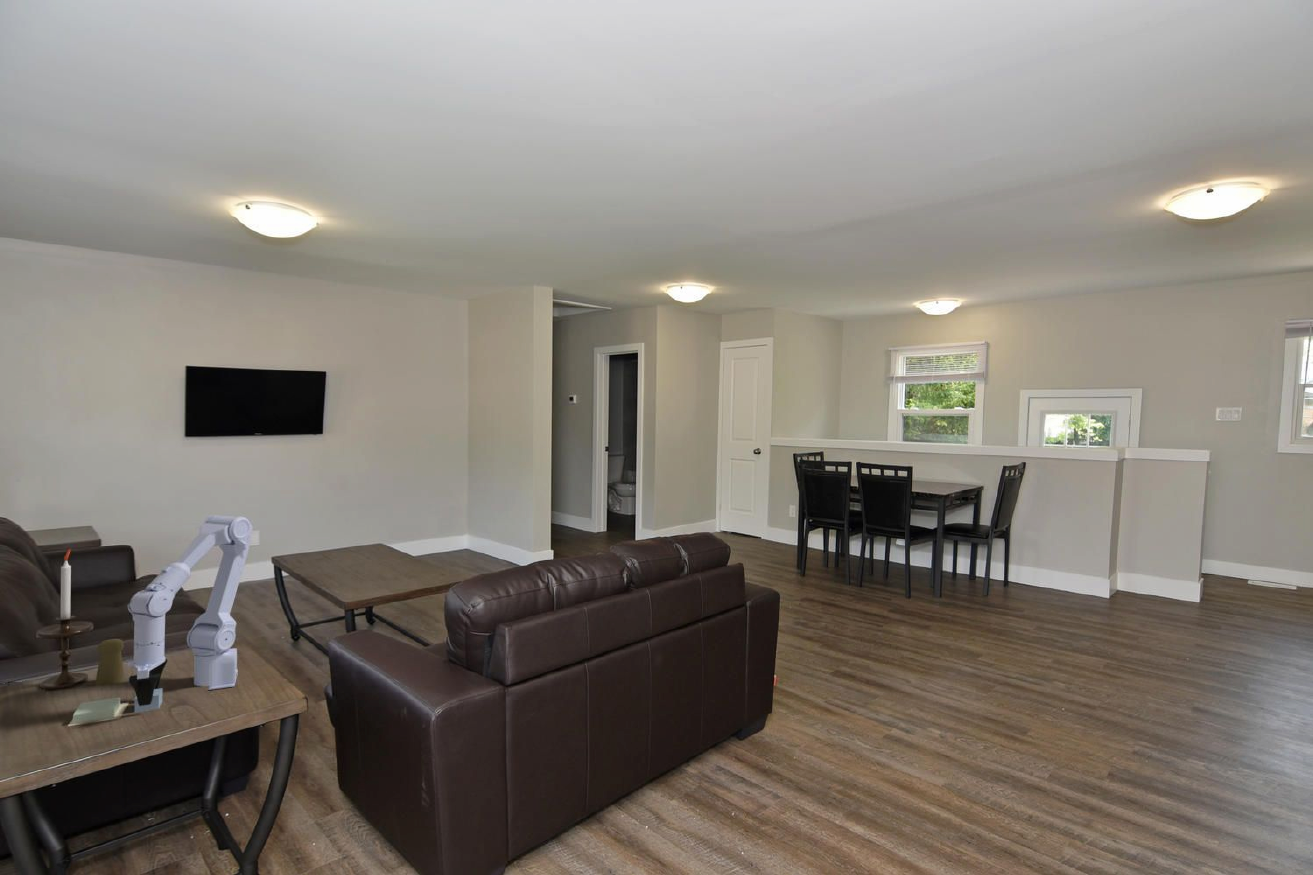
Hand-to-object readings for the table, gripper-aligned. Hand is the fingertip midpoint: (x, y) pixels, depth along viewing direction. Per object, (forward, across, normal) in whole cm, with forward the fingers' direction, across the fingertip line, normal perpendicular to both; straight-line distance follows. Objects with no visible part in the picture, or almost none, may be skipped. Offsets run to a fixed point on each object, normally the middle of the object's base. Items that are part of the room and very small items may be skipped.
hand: (148, 698), depth 152 cm
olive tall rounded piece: (+3, -25, -12) cm, 28 cm away
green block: (+2, 0, -9) cm, 10 cm away
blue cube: (+3, 0, 0) cm, 3 cm away
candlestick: (+3, -29, -22) cm, 37 cm away
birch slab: (+4, 0, -9) cm, 10 cm away
